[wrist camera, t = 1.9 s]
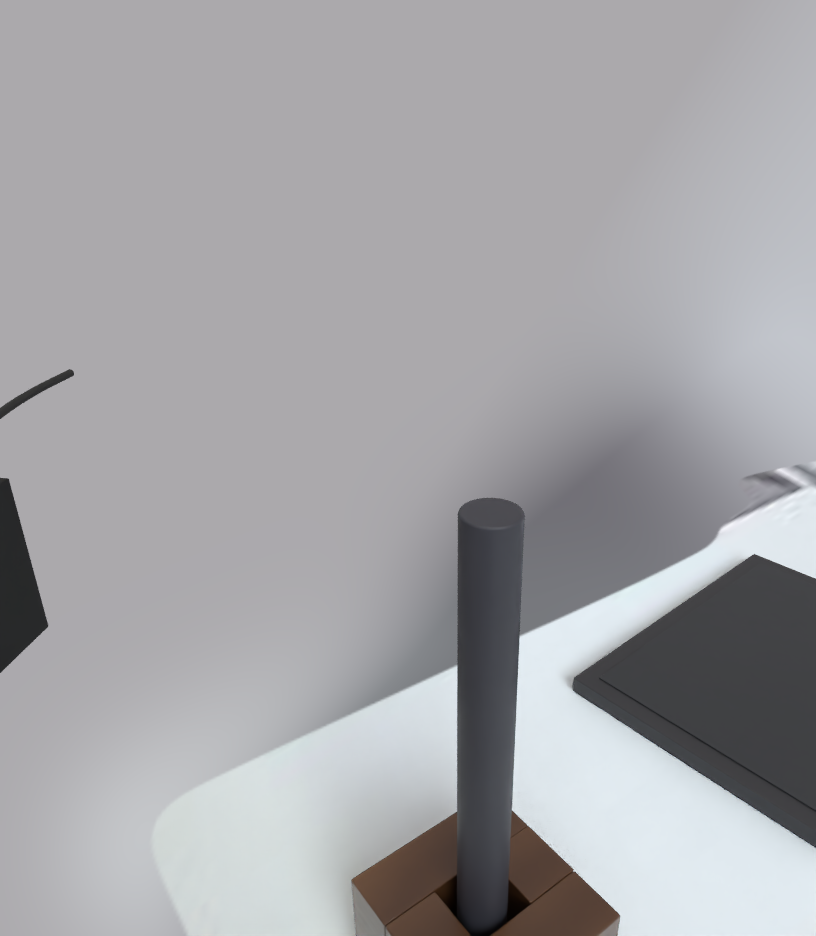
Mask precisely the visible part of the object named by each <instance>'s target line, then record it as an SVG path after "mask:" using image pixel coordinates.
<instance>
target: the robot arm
mask: <svg viewBox="0 0 816 936" xmlns="http://www.w3.org/2000/svg"><path fill="white" fill-rule="evenodd" d="M73 375H74V372H73V371H72V370H70V369H69V370H67V371H65V372H63V373H61V374H59V375H57V376H55V377H53V378H51V379H49V380H47V381H45V382H43V383H41V384H39V385H37V386H35V387H33V388H31V389H30V390H28V391H26V392H24V393H23V394H21V395H19V396H18V397H16V398H14V399H13V400H11V401H10V402H8V403H7V404H5V405H4V406H2V407H1V408H0V419H1V418H2V417H3V416H5V415H6V414H8V413H9V412H10V411H12V410H13V409H15V408H16V407H17V406H19V405H21V404H22V403H24V402H25V401H27V400H28V399H30V398H32V397H34V396H35V395H37V394H39V393H40V392H42V391H44V390H46V389H48V388H50V387H52V386H54V385H56V384H58V383H60V382H62V381H64V380H66V379H68V378H70V377H72V376H73ZM47 627H48V623H47V620H46V616H45V612H44V609H43V605H42V601H41V597H40V593H39V590H38V586H37V582H36V579H35V575H34V571H33V568H32V564H31V560H30V557H29V553H28V549H27V545H26V542H25V538H24V534H23V531H22V527H21V524H20V519H19V516H18V512H17V508H16V505H15V501H14V497H13V493H12V490H11V486H10V483H9V479H7V478H0V673H1V672H2V671H3V670H4V669H5V668H6V667H7V666H8V665H9V664H10V663H11V662H12V661H13V660H14V659H15V658H16V657H17V656H18V655H19V654H20V653H21V652H22V651H23V650H24V649H25V648H26V647H27V646H28V645H30V644H31V643H32V642H33V641H34V640H35V639H36V638H37V637H38V636H39V635H40V634H41V633H42V632H43V631H44V630H45V629H46V628H47Z"/></svg>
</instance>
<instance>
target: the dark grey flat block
mask: <svg viewBox="0 0 816 936" xmlns="http://www.w3.org/2000/svg"><path fill="white" fill-rule="evenodd" d="M573 691H575V692H576V693H578V694H580V695H581V696H583V697H584V698H586V699H587V700H589V701H590V702H592V703H593V704H595V705H597V706H598V707H600V708H601V709H603V710H604V711H606V712H607V713H609V714H610V715H612V716H614V717H615V718H617V719H618V720H620V721H621V722H623V723H624V724H626V725H627V726H629V727H631V728H632V729H634V730H635V731H637V732H638V733H640V734H641V735H643V736H644V737H646V738H648V739H649V740H651V741H652V742H654V743H655V744H657V745H658V746H660V747H662V748H663V749H665V750H666V751H668V752H669V753H671V754H672V755H674V756H675V757H677V758H679V759H680V760H682V761H683V762H685V763H686V764H688V765H689V766H691V767H692V768H694V769H696V770H697V771H699V772H700V773H702V774H703V775H705V776H706V777H708V778H709V779H711V780H713V781H714V782H716V783H717V784H719V785H720V786H722V787H723V788H725V789H726V790H728V791H730V792H731V793H733V794H734V795H736V796H737V797H739V798H740V799H742V800H744V801H745V802H747V803H748V804H750V805H751V806H753V807H754V808H756V809H757V810H759V811H761V812H762V813H764V814H765V815H767V816H768V817H770V818H771V819H773V820H774V821H776V822H778V823H779V824H781V825H782V826H784V827H785V828H787V829H788V830H790V831H791V832H793V833H795V834H796V835H798V836H799V837H801V838H802V839H804V840H805V841H807V842H808V843H810V844H812V845H813V846H815V847H816V579H815V578H812V577H810V576H807V575H805V574H802V573H800V572H797V571H795V570H792V569H790V568H787V567H785V566H782V565H780V564H777V563H775V562H772V561H770V560H768V559H765V558H763V557H760V556H758V555H755V554H754V555H752V556H751V557H749V558H748V559H746V560H745V561H743V562H742V563H740V564H739V565H737V566H736V567H735V568H733V569H732V570H730V571H729V572H727V573H726V574H724V575H723V576H721V577H720V578H719V579H717V580H716V581H714V582H713V583H711V584H710V585H708V586H707V587H705V588H704V589H703V590H701V591H700V592H698V593H697V594H695V595H694V596H692V597H691V598H689V599H688V600H687V601H685V602H684V603H682V604H681V605H679V606H678V607H676V608H675V609H673V610H672V611H671V612H669V613H668V614H666V615H665V616H663V617H662V618H660V619H659V620H657V621H656V622H655V623H653V624H652V625H650V626H649V627H647V628H646V629H644V630H643V631H641V632H640V633H639V634H637V635H636V636H634V637H633V638H631V639H630V640H628V641H627V642H625V643H624V644H623V645H621V646H620V647H618V648H617V649H615V650H614V651H612V652H611V653H609V654H608V655H607V656H605V657H604V658H602V659H601V660H599V661H598V662H596V663H595V664H593V665H592V666H591V667H589V668H588V669H586V670H585V671H583V672H582V673H580V674H579V675H577V676H576V677H575V678H574V682H573Z"/></svg>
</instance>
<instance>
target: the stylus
mask: <svg viewBox="0 0 816 936" xmlns="http://www.w3.org/2000/svg"><path fill="white" fill-rule="evenodd" d="M524 517H525V515H524V512H523V510H522V508H521V507H519V506H518V505H517V504H515V503H513V502H511V501H508V500H504V499H497V498H482V499H476V500H472V501H469V502H467V503H465V504H464V505H463V506H462V507H461V508H460V510H459V512H458V688H457V919H458V920H459V921H460V923H461V924H462V925H463V926H464V927H465V929H466V930H467V931H468V932H469V934H470V935H471V936H490V935H492V934H493V933H494V932H495V931H497V930H498V929H499V928H501V927H502V926H503V925H505V924H506V923H507V905H508V883H509V860H510V837H511V814H512V792H513V769H514V746H515V723H516V701H517V678H518V655H519V632H520V609H521V587H522V564H523V540H524Z"/></svg>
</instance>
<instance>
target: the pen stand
mask: <svg viewBox="0 0 816 936" xmlns="http://www.w3.org/2000/svg"><path fill="white" fill-rule="evenodd" d="M351 882H352V894H353V906H354V919H355V931H356V936H471V935H470V934H469V932H468V931H467V930H466V929H465V927H464V926H463V925H462V924H461V923H460V921H459V920H458V919H457V812H456V813H454V814H453V815H451V816H450V817H448V818H447V819H445V820H443V821H442V822H440V823H439V824H437V825H436V826H434V827H432V828H431V829H429V830H428V831H426V832H425V833H423V834H422V835H420V836H418V837H417V838H415V839H414V840H412V841H411V842H409V843H408V844H406V845H404V846H403V847H401V848H400V849H398V850H397V851H395V852H393V853H392V854H390V855H389V856H387V857H386V858H384V859H383V860H381V861H379V862H378V863H376V864H375V865H373V866H372V867H370V868H368V869H367V870H365V871H364V872H362V873H361V874H359V875H358V876H356V877H354V878H353V879H352V880H351ZM619 921H620V915H619V914H618V913H617V912H616V911H615V910H614V909H613V908H612V907H611V906H610V905H609V904H608V903H607V902H606V901H605V900H604V899H603V898H602V897H601V896H600V895H599V894H598V893H597V892H596V891H594V890H593V889H592V888H591V887H590V886H589V885H588V884H587V883H586V882H585V881H584V880H583V879H582V878H581V877H580V876H579V875H578V874H577V873H576V872H573V869H572V868H571V867H570V866H569V865H568V864H567V863H566V862H565V861H564V860H563V859H562V858H561V857H560V856H559V855H558V854H557V853H556V852H555V851H554V850H553V849H552V848H550V847H549V846H548V845H547V844H546V843H545V842H544V841H543V840H542V839H541V838H540V837H539V836H538V835H537V834H536V833H535V832H534V831H533V830H532V829H531V828H530V827H528V826H527V825H526V824H525V823H524V822H523V821H522V820H521V819H520V818H519V817H518V816H517V815H516V814H515V813H514V812H513V811H512V814H511V837H510V860H509V883H508V905H507V923H506V924H505V925H503V926H502V927H501V928H499V929H498V930H497V931H495V932H494V933H493V934H492V935H490V936H617V935H618V928H619Z"/></svg>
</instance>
